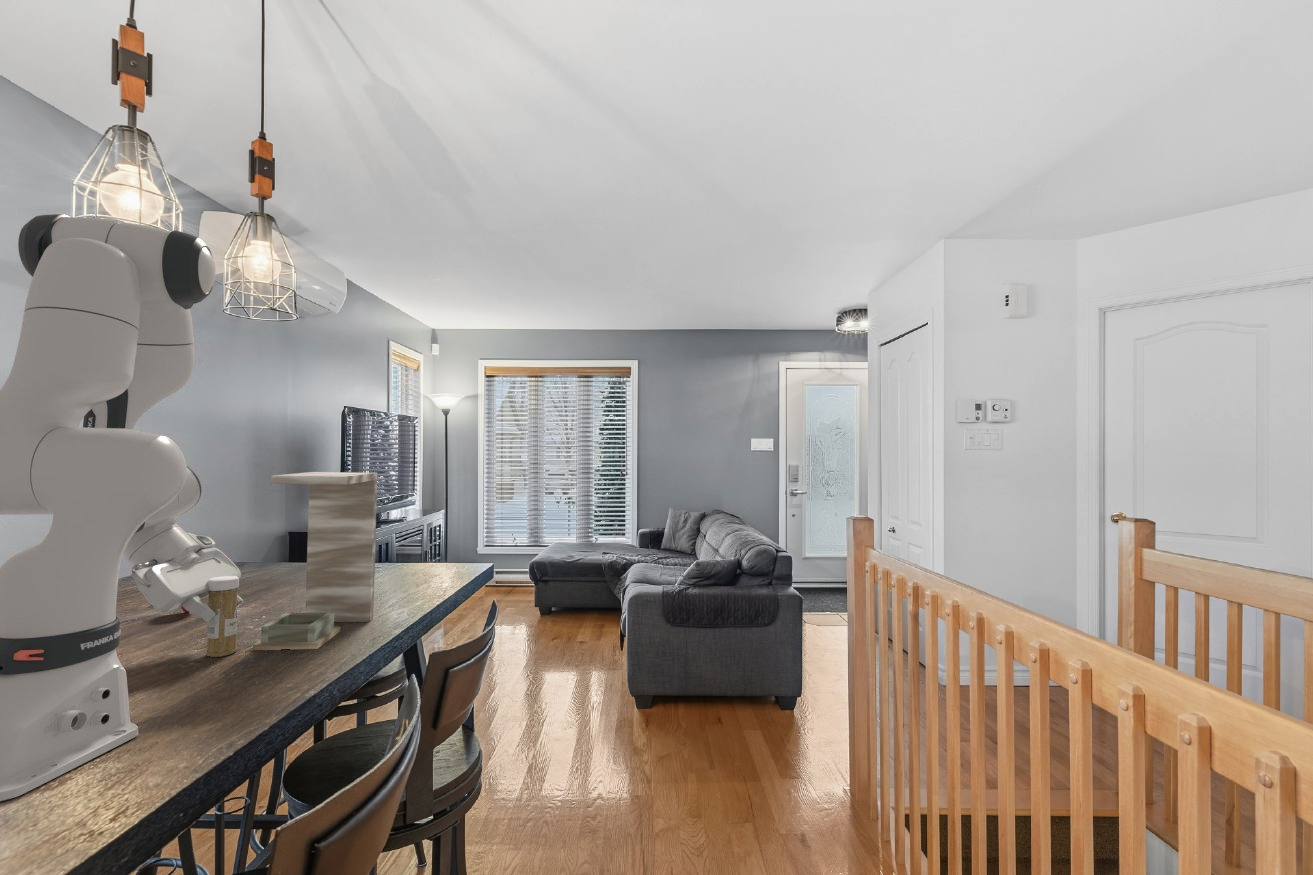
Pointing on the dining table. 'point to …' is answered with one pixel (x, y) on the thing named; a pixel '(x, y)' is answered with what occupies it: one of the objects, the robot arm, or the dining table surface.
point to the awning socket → (331, 560)
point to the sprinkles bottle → (222, 616)
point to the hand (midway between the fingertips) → (226, 611)
